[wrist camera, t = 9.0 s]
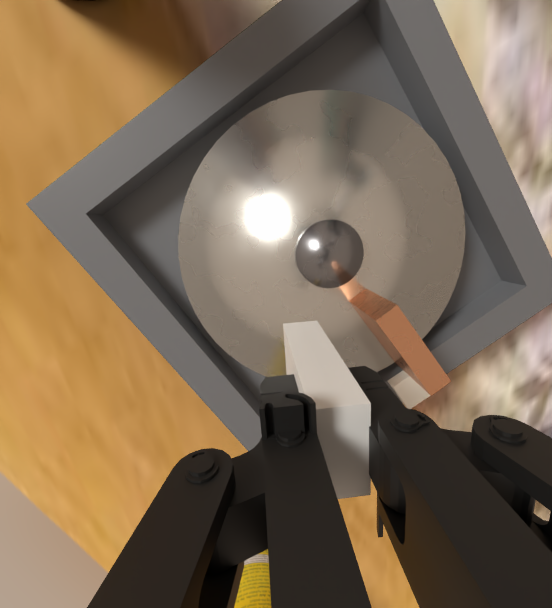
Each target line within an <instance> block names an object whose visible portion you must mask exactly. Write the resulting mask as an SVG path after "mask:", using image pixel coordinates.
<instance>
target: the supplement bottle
mask: <svg viewBox="0 0 552 608" xmlns="http://www.w3.org/2000/svg"><path fill="white" fill-rule="evenodd" d="M234 608H271V595H270V576H269V558H268V549H267V550H265V551H263V552H261V553H259V554H257V555H255V556H253V557H251V558H249V559H247V560H245V561H244V569H243V573H242V577H241V581H240V585H239V590H238V594H237V598H236V602H235V606H234Z"/></svg>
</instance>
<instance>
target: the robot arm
mask: <svg viewBox="0 0 552 608" xmlns="http://www.w3.org/2000/svg"><path fill="white" fill-rule="evenodd" d="M283 331H284V345H285V359H286V374H287V375H281V376H271V377H265V379H264V380H263V381H262V383H261V384H260V395H261V404H260V408H259V414H260V424H261V434H262V437H261V439H260V441H259V443H258V444H257V445H256V446H255V447H254V448H253V449H251V450H250V451H248V452H247V453H244V454H242V455H240V456H237V457H235V458H232V459H231V457H230V455H228V454H227V453H225V452H224V451H223V450H218V449H214V448H211V449H201V450H198V451H195V452H192V453H190V454H188V455H187V456H185V457H184V458H182V459H181V460H180V461H179V462H178V463H177V464H176V465H175V467H174V468H173V469H172V471H171V472H170V474H169V476H168V477H167V479H166V481H165V482H164V484H163V485H162V487H161V489H160V490H159V492H158V494H157V495H156V497H155V498H154V500H153V502H152V503H151V505H150V507H149V508H148V510H147V511H146V513H145V515H144V516H143V518H142V519H141V521H140V523H139V524H138V526H137V528H136V529H135V531H134V532H133V534H132V536H131V537H130V539H129V541H128V542H127V544H126V545H125V547H124V549H123V550H122V552H121V554H120V555H119V557H118V558H117V560H116V562H115V563H114V565H113V567H112V568H111V570H110V571H109V573H108V575H107V577H106V578H105V580H104V581H103V583H102V584H101V586H100V588H99V589H98V591H97V592H96V594H95V596H94V597H93V599H92V601H91V602H90V604H89V605H88V607H87V608H234V606H235V602H236V598H237V594H238V590H239V585H240V581H241V577H242V573H243V569H244V561H245V560H247V559H249V558H251V557H253V556H255V555H257V554H259V553H261V552H263V551H265V550H267V549H268V558H269V576H270V595H271V608H371V604H370V601H369V598H368V595H367V592H366V588H365V585H364V582H363V579H362V576H361V572H360V569H359V566H358V563H357V560H356V556H355V553H354V550H353V547H352V544H351V540H350V537H349V534H348V531H347V528H346V525H345V521H344V518H343V515H342V512H341V509H340V505H339V502H338V499H341V498H349V497H357V496H365V495H370V481H371V479H372V482H373V484H374V486H375V488H376V490H377V532H378V537H383V524H384V526H385V529H386V531H387V533H388V536H389V538H390V540H391V543H392V545H393V547H394V549H395V552H396V554H397V556H398V559H399V561H400V563H401V566H402V568H403V570H404V573H405V575H406V577H407V580H408V582H409V584H410V587H411V589H412V591H413V594H414V596H415V598H416V600H417V603H418V605H419V607H420V608H552V438H550V437H549V436H547V435H545V434H543V433H541V432H540V431H538V430H536V429H534V428H532V427H531V426H529V425H527V424H525V423H522V422H520V421H518V420H515V419H512V418H508V417H505V416H499V415H498V416H497V415H487V416H480V417H479V418H477V419H475V420H474V423H473V426H472V432H463V431H453V430H445V429H440V428H439V427H438V426H437V424H436V423H435V422H434V421H433V420H432V419H431V418H429V417H428V416H427V415H425V414H423V413H421V412H419V411H416V410H412V409H408V408H406V407H405V406H404V405H403V404H402V402H401V401H400V400H399V399H398V397H397V396H396V395H395V394H394V393H393V391H392V390H391V389H390V388H389V386H388V385H387V384H386V383H385V382H383V379H382V378H381V377H380V376H379V374H378V373H377V372H376V371H374V370H372V369H370V368H368V367H367V366H358V367H349V368H348V367H347V366H346V364H345V363H344V361H343V360H342V358H341V357H340V355H339V354H338V352H337V351H336V349H335V347H334V346H333V344H332V343H331V341H330V340H329V338H328V337H327V335H326V334H325V332H324V331H323V329H322V328H321V326H320V324H319V323H318V321H306V322H296V323H285V324H283ZM535 500H537V501H538V502H540V503H541V504H542V505H544V506H545V507H546V508H548V509H549V510H550V511H551V513H550V519H549V521H545V520H542V519H541V518H539V517H538V516H536V515H535V514H534V513H533V512H534V506H535Z"/></svg>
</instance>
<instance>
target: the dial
mask: <svg viewBox="0 0 552 608" xmlns="http://www.w3.org/2000/svg"><path fill="white" fill-rule="evenodd" d="M464 248H465V216H464V209H463V203H462V198H461V193H460V190H459V187H458V184H457V181H456V178H455V175H454V173H453V171H452V169H451V167H450V165H449V163H448V161H447V159H446V157H445V156H444V154H443V153H442V151H441V150H440V148H439V147H438V145H437V144H436V142H435V141H434V140H433V139H432V138H431V137H430V136H429V135H428V133H427V132H426V131H425V130H424V129H423V128H422V127H421V126H420V125H419V124H417V123H416V122H415V121H414V120H413V119H411V118H410V117H409V116H408V115H406V114H405V113H403V112H401V111H400V110H398V109H396V108H395V107H393V106H392V105H390V104H388V103H385V102H383V101H380V100H378V99H376V98H373V97H371V96H367V95H363V94H359V93H355V92H351V91H340V90H314V91H306V92H301V93H296V94H291V95H287V96H285V97H282V98H279V99H277V100H274V101H271V102H268V103H267V104H265V105H263V106H261V107H259V108H257V109H256V110H254V111H252V112H250V113H249V114H247V115H246V116H245V117H243V118H242V119H241V120H239V121H238V122H237V123H235V124H234V125H232V126H231V127H230V128H229V129H228V130H227V131H226V132H225V133H224V134H223V135H222V136H221V137H220V138H219V139H218V140H217V141H216V143H215V144H214V145H213V147H212V148H211V149H210V151H209V152H208V153H207V155H206V156H205V157H204V159H203V161H202V162H201V164H200V166H199V168H198V169H197V171H196V173H195V175H194V176H193V179H192V181H191V184H190V186H189V189H188V191H187V194H186V197H185V201H184V204H183V208H182V212H181V217H180V225H179V234H178V252H179V263H180V269H181V276H182V280H183V283H184V286H185V290H186V293H187V296H188V298H189V301H190V303H191V305H192V307H193V310H194V312H195V314H196V315H197V317H198V319H199V320H200V322H201V324H202V325H203V327H204V328H205V330H206V331H207V332H208V333H209V335H210V336H211V337H212V338H213V340H214V341H215V342H216V343H217V344H218V345H219V346H220V347H221V348H222V349H223V350H224V351H225V352H226V353H228V354H229V355H230V356H231V357H233V358H234V359H235V360H237V361H238V362H240V363H241V364H242V365H244V366H246V367H248V368H249V369H251V370H253V371H255V372H257V373H259V374H261V375H264V376H266V377H271V376H281V375H287V374H286V359H285V345H284V331H283V324H285V323H296V322H306V321H318V323H319V324H320V326H321V328H322V329H323V331H324V332H325V334H326V335H327V337H328V338H329V340H330V341H331V343H332V344H333V346H334V347H335V349H336V351H337V352H338V354H339V355H340V357H341V358H342V360H343V361H344V363H345V364H346V366H347V367H348V368H349V367H358V366H367V367H368V368H370V369H372V370H374V371H376V372H378V371H380V370H382V369H384V368H386V367H388V366H389V365H391V364H392V363H394V362H395V363H396V364H397V365H398V366H399V367H400V368H401V369H402V370H403V371H405V372H406V373H407V374H408V375H409V376H410V377H411V378H412V379H413V380H414V381H415V382H416V383H418V384H419V385H420V386H421V387H422V388H423V389H424V390H425V391H426V392H427V393H428V394H430V395H431V396H432V395H433V394H435V393H436V392H437V391H439V390H440V389H442V388H443V387H444V386H446V385H447V384H448V383H450V382H451V380H450V379H449V377H448V376H447V375H446V373H445V372H444V370H443V369H442V367H441V366H440V365H439V363H438V362H437V360H436V359H435V358H434V356H433V355H432V353H431V352H430V350H429V349H428V348H427V346H426V345H425V343H424V342H423V341H422V339H423V338H424V337H425V336H426V335H427V334H428V332H429V331H430V330H431V328H432V327H433V326H434V324H435V323H436V322H437V320H438V319H439V318H440V316H441V314H442V313H443V311H444V309H445V307H446V306H447V304H448V302H449V300H450V298H451V295H452V293H453V291H454V289H455V286H456V283H457V280H458V277H459V273H460V270H461V266H462V260H463V255H464Z"/></svg>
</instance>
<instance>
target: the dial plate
mask: <svg viewBox="0 0 552 608" xmlns="http://www.w3.org/2000/svg"><path fill="white" fill-rule="evenodd" d="M314 90H340V91H351V92H355V93H359V94H363V95H367V96H371V97H373V98H376V99H378V100H380V101H383V102H385V103H388V104H390V105H392V106H393V107H395V108H396V109H398V110H400V111H401V112H403V113H405V114H406V115H408V116H409V117H410V118H411V119H413V120H414V121H415V122H416V123H417V124H419V125H420V126H421V127H422V128H423V129H424V130H425V131H426V132H427V133H428V135H429V136H430V137H431V138H432V139H433V140H434V141H435V142H436V144H437V145H438V147H439V148H440V150H441V151H442V153H443V154H444V156H445V157H446V159H447V161H448V163H449V165H450V167H451V169H452V171H453V173H454V175H455V178H456V181H457V184H458V187H459V190H460V193H461V198H462V203H463V209H464V216H465V248H464V255H463V260H462V266H461V270H460V273H459V277H458V280H457V283H456V286H455V289H454V291H453V293H452V295H451V298H450V300H449V302H448V304H447V306H446V307H445V309H444V311H443V313H442V314H441V316H440V318H439V319H438V320H437V322H436V323H435V324H434V326H433V327H432V328H431V330H430V331H429V332H428V334H427V335H426V336H425V337H424V338H423V339H422V341H423V342H424V343H425V345H426V346H427V348H428V349H429V350H430V352H431V353H432V355H433V356H434V358H435V359H436V360H437V362H438V363H439V365H440V366H441V367H442V369H443V370H444V372H445V373H446V374H447V373H449V372H450V371H452V370H453V369H455V368H456V367H457V366H459V365H460V364H462V363H463V362H465V361H466V360H468V359H469V358H471V357H472V356H474V355H475V354H477V353H478V352H480V351H481V350H483V349H484V348H486V347H487V346H489V345H490V344H492V343H493V342H495V341H496V340H498V339H499V338H501V337H502V336H504V335H505V334H507V333H508V332H510V331H511V330H513V329H514V328H516V327H517V326H519V325H520V324H522V323H523V322H524V321H526V320H527V319H529V318H530V317H532V316H533V315H535V314H536V313H538V312H539V311H541V310H542V309H544V308H545V307H547V306H548V305H550V304H551V303H552V258H551V256H550V254H549V251H548V249H547V247H546V245H545V243H544V241H543V238H542V236H541V234H540V232H539V230H538V228H537V225H536V223H535V221H534V219H533V217H532V214H531V212H530V210H529V208H528V206H527V204H526V201H525V199H524V197H523V195H522V193H521V190H520V188H519V186H518V184H517V182H516V180H515V177H514V175H513V173H512V171H511V169H510V166H509V164H508V162H507V160H506V158H505V156H504V153H503V151H502V149H501V147H500V145H499V143H498V140H497V138H496V136H495V134H494V132H493V129H492V127H491V125H490V123H489V121H488V119H487V116H486V114H485V112H484V110H483V108H482V105H481V103H480V101H479V99H478V97H477V95H476V92H475V90H474V88H473V86H472V84H471V81H470V79H469V77H468V75H467V73H466V71H465V68H464V66H463V64H462V62H461V60H460V58H459V55H458V53H457V51H456V49H455V47H454V44H453V42H452V40H451V38H450V36H449V34H448V31H447V29H446V27H445V25H444V23H443V20H442V18H441V16H440V14H439V12H438V10H437V7H436V5H435V3H434V1H433V0H282V1H280V2H279V3H278V4H276V5H275V6H274V7H273V8H271V9H270V10H269V11H268V12H266V13H265V14H264V15H263V16H261V17H260V18H259V19H258V20H256V21H255V22H254V23H253V24H251V25H250V26H249V27H248V28H246V29H245V30H244V31H243V32H241V33H240V34H239V35H238V36H236V37H235V38H234V39H233V40H231V41H230V42H229V43H228V44H226V45H225V46H224V47H222V48H221V49H220V50H219V51H217V52H216V53H215V54H214V55H212V56H211V57H210V58H209V59H207V60H206V61H205V62H204V63H202V64H201V65H200V66H199V67H197V68H196V69H195V70H194V71H192V72H191V73H190V74H189V75H187V76H186V77H185V78H184V79H182V80H181V81H180V82H179V83H177V84H176V85H175V86H174V87H172V88H171V89H170V90H169V91H167V92H166V93H165V94H163V95H162V96H161V97H160V98H158V99H157V100H156V101H155V102H153V103H152V104H151V105H150V106H148V107H147V108H146V109H145V110H143V111H142V112H141V113H140V114H138V115H137V116H136V117H135V118H133V119H132V120H131V121H130V122H128V123H127V124H126V125H125V126H123V127H122V128H121V129H120V130H118V131H117V132H116V133H115V134H113V135H112V136H111V137H109V138H108V139H107V140H106V141H104V142H103V143H102V144H101V145H99V146H98V147H97V148H96V149H94V150H93V151H92V152H91V153H89V154H88V155H87V156H86V157H84V158H83V159H82V160H81V161H79V162H78V163H77V164H76V165H74V166H73V167H72V168H71V169H69V170H68V171H67V172H66V173H64V174H63V175H62V176H61V177H59V178H58V179H57V180H56V181H54V182H53V183H52V184H50V185H49V186H48V187H47V188H45V189H44V190H43V191H42V192H40V193H39V194H38V195H37V196H35V197H34V198H33V199H32V200H30V201H29V202H28V203H27V204H26V205H27V206H28V207H29V208H30V209H31V210H32V211H33V212H34V213H35V215H36V216H37V217H38V218H39V219H40V220H41V221H42V222H43V223H44V225H45V226H46V227H47V228H48V229H49V230H50V231H51V232H52V233H53V235H54V236H55V237H56V238H57V239H58V240H59V241H60V242H61V243H62V245H63V246H64V247H65V248H66V249H67V250H68V251H69V252H70V253H71V255H72V256H73V257H74V258H75V259H76V260H77V261H78V262H79V263H80V265H81V266H82V267H83V268H84V269H85V270H86V271H87V272H88V273H89V275H90V276H91V277H92V278H93V279H94V280H95V281H96V282H97V284H98V285H99V286H100V287H101V288H102V289H103V290H104V291H105V292H106V294H107V295H108V296H109V297H110V298H111V299H112V300H113V301H114V302H115V304H116V305H117V306H118V307H119V308H120V309H121V310H122V311H123V312H124V314H125V315H126V316H127V317H128V318H129V319H130V320H131V321H132V322H133V324H134V325H135V326H136V327H137V328H138V329H139V330H140V331H141V332H142V334H143V335H144V336H145V337H146V338H147V339H148V340H149V341H150V342H151V344H152V345H153V346H154V347H155V348H156V349H157V350H158V351H159V352H160V354H161V355H162V356H163V357H164V358H165V359H166V360H167V361H168V362H169V364H170V365H171V366H172V367H173V368H174V369H175V370H176V371H177V372H178V374H179V375H180V376H181V377H182V378H183V379H184V380H185V381H186V382H187V384H188V385H189V386H190V387H191V388H192V389H193V390H194V391H195V392H196V394H197V395H198V396H199V397H200V398H201V399H202V400H203V401H204V402H205V404H206V405H207V406H208V407H209V408H210V409H211V410H212V411H213V412H214V414H215V415H216V416H217V417H218V418H219V419H220V420H221V421H222V422H223V424H224V425H225V426H226V427H227V428H228V429H229V430H230V431H231V432H232V434H233V435H234V436H235V437H236V438H237V439H238V440H239V441H240V443H241V444H242V445H243V446H244V447H245V448H246V449H247V450H248V451H250V450H251V449H253V448H254V447H255V446H256V445H257V444H258V443H259V441H260V439H261V437H262V434H261V424H260V414H259V408H260V404H261V395H260V384H261V383H262V381H263V380H264V379H265V377H266V376H264V375H261V374H259V373H257V372H255V371H253V370H251V369H249V368H248V367H246V366H244V365H242V364H241V363H240V362H238V361H237V360H235V359H234V358H233V357H231V356H230V355H229V354H228V353H226V352H225V351H224V350H223V349H222V348H221V347H220V346H219V345H218V344H217V343H216V342H215V341H214V340H213V338H212V337H211V336H210V335H209V333H208V332H207V331H206V330H205V328H204V327H203V325H202V324H201V322H200V320H199V319H198V317H197V315H196V314H195V312H194V310H193V307H192V305H191V303H190V301H189V298H188V296H187V293H186V290H185V286H184V283H183V280H182V276H181V269H180V263H179V252H178V234H179V225H180V217H181V212H182V208H183V204H184V201H185V197H186V194H187V191H188V189H189V186H190V184H191V181H192V179H193V176H194V175H195V173H196V171H197V169H198V168H199V166H200V164H201V162H202V161H203V159H204V157H205V156H206V155H207V153H208V152H209V151H210V149H211V148H212V147H213V145H214V144H215V143H216V141H217V140H218V139H219V138H220V137H221V136H222V135H223V134H224V133H225V132H226V131H227V130H228V129H229V128H230V127H231V126H232V125H234V124H235V123H237V122H238V121H239V120H241V119H242V118H243V117H245V116H246V115H247V114H249V113H250V112H252V111H254V110H256V109H257V108H259V107H261V106H263V105H265V104H267V103H268V102H271V101H274V100H277V99H279V98H282V97H285V96H287V95H291V94H296V93H301V92H306V91H314ZM377 373H378V374H379V376H380V377H381V378H382V379H383V382H385V383H386V384H387V385H388V386H389V388H390V389H391V390H392V391H393V393H394V394H395V395H396V396H397V397H398V399H399V400H400V401H401V402H402V403H403V404H404V405H405V406H406V408H408V409H411V408H413V407H414V406H416V405H417V404H419V403H420V402H422V401H423V400H425V399H426V398H428V397H429V396H431V395H430V394H428V393H427V392H426V391H425V390H424V389H423V388H422V387H421V386H420V385H419V384H418V383H416V382H415V381H414V380H413V379H412V378H411V377H410V376H409V375H408V374H407V373H406V372H405V371H403V370H402V369H401V368H400V367H399V366H398V365H397V364H396V363H395V362H394V363H392V364H391V365H389V366H388V367H386V368H384V369H382V370H380V371H378V372H377Z"/></svg>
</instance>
